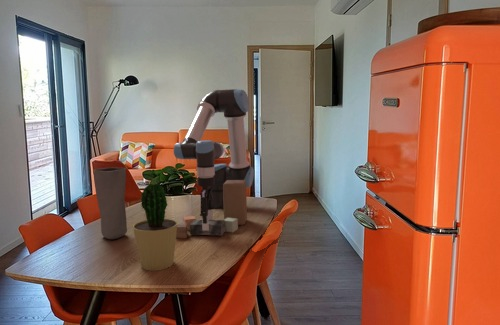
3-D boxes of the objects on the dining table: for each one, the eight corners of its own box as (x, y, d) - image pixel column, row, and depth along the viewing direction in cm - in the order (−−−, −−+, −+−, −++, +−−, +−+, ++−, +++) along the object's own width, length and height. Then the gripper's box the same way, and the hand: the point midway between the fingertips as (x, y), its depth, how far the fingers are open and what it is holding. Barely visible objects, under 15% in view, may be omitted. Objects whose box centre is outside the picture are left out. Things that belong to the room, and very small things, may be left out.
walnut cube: (175, 234, 183) (175, 223, 182) (187, 234, 183) (186, 223, 183) (174, 238, 178) (174, 227, 177) (186, 238, 178) (185, 226, 178)
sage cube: (228, 228, 191) (227, 217, 191) (237, 229, 189) (237, 218, 189) (222, 231, 187) (222, 220, 186) (232, 232, 185) (232, 221, 184)
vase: (93, 237, 180) (88, 169, 176) (119, 231, 189) (115, 166, 185) (107, 244, 172) (103, 172, 168) (134, 236, 181) (130, 168, 177)
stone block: (196, 229, 190) (196, 217, 189) (226, 230, 187) (226, 219, 186) (189, 235, 181) (189, 223, 180) (221, 236, 178) (221, 224, 177)
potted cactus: (182, 256, 157) (178, 177, 153) (175, 272, 142) (171, 185, 137) (141, 257, 157) (136, 178, 152) (130, 273, 141) (125, 186, 137)
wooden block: (247, 219, 205) (246, 179, 202) (244, 225, 195) (244, 183, 192) (227, 219, 206) (226, 179, 203) (223, 225, 196) (222, 183, 193)
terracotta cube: (183, 227, 194) (183, 217, 193) (194, 226, 195) (193, 215, 195) (185, 230, 189) (185, 219, 188) (196, 229, 191) (196, 218, 190)
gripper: (202, 172, 191) (204, 220, 194) (191, 181, 170) (193, 234, 173) (218, 172, 190) (220, 220, 193) (209, 181, 169) (211, 234, 172)
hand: (207, 227), depth 183 cm, fingers closed on stone block, 8 cm apart
